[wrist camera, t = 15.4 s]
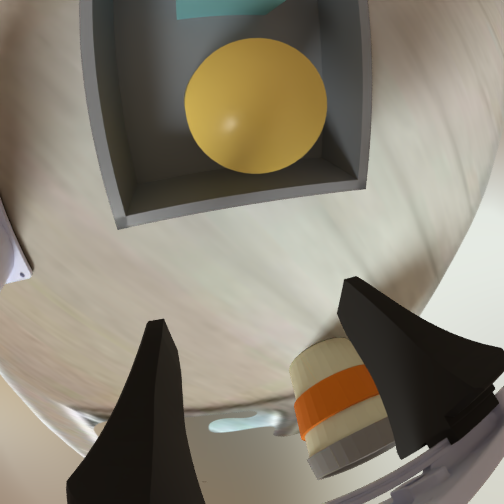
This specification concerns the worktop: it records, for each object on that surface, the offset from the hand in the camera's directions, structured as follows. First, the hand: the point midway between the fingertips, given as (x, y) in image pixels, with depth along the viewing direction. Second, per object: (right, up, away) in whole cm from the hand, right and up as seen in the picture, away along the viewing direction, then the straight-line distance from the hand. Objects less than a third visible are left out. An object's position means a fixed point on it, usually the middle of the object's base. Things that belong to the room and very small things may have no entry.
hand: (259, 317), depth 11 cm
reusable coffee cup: (+9, -11, +23) cm, 27 cm away
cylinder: (-2, +11, +3) cm, 12 cm away
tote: (-2, +15, +2) cm, 15 cm away
